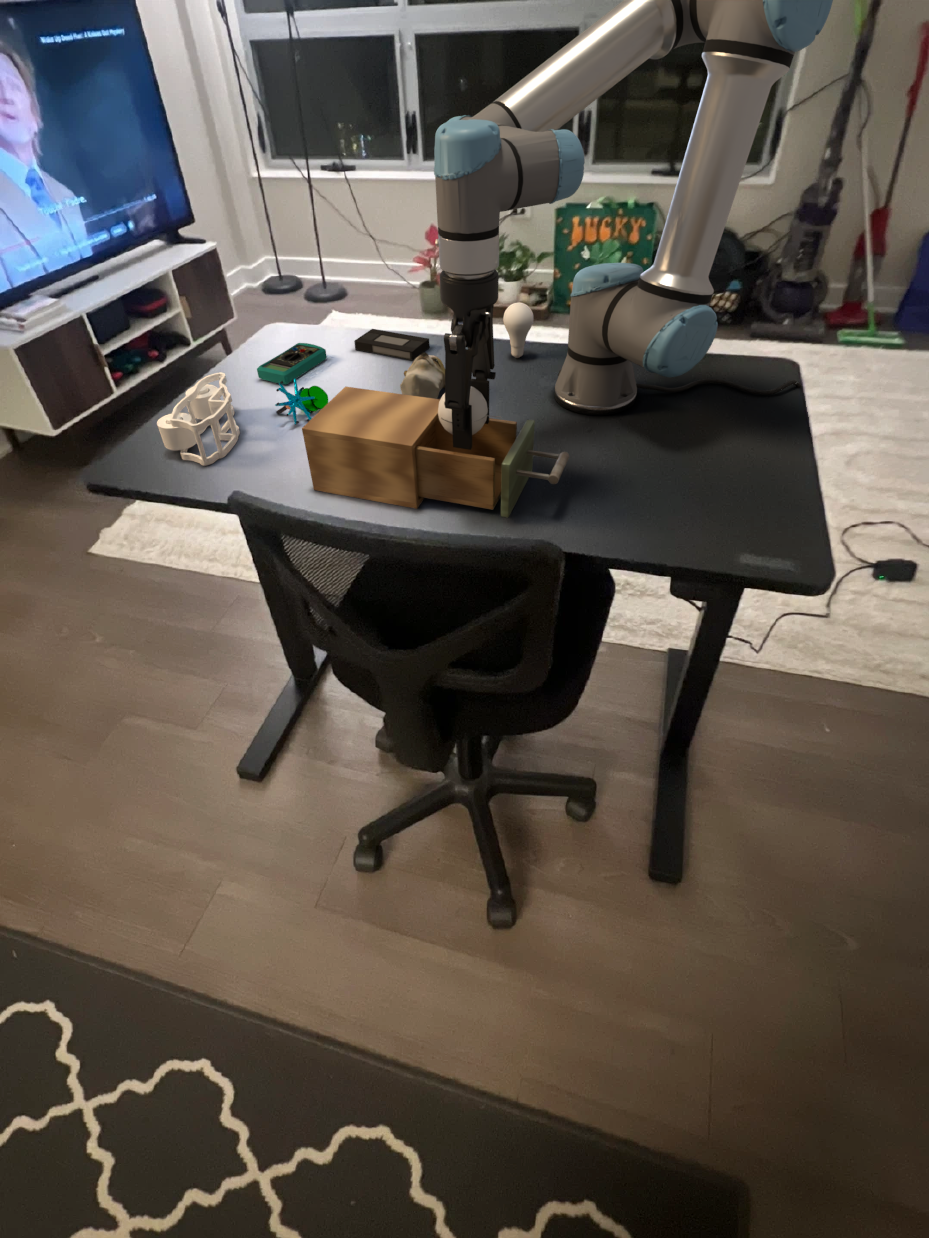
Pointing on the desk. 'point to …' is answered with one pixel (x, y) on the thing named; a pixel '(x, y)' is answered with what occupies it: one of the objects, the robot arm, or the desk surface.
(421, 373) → the ceramic sculpture
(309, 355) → the digital multimeter
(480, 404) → the cream egg
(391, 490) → the cabinet
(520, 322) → the lightbulb
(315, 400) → the stick construction toy
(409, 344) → the vhs tape
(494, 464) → the drawer
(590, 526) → the desk surface
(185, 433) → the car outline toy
